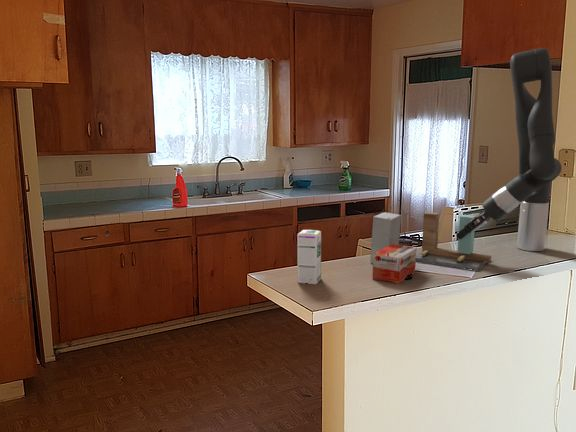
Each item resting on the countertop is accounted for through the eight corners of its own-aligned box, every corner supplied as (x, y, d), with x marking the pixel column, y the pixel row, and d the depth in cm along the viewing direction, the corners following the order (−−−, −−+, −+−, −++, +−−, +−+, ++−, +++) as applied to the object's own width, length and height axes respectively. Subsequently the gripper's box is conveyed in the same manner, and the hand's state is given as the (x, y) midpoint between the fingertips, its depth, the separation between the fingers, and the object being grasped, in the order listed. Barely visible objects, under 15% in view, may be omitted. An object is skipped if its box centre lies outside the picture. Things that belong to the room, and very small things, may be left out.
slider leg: (460, 254, 181) (463, 214, 178) (472, 256, 178) (475, 215, 176) (452, 260, 173) (455, 218, 171) (465, 261, 171) (468, 220, 169)
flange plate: (427, 251, 191) (428, 247, 191) (489, 260, 180) (489, 256, 179) (411, 260, 178) (411, 256, 177) (477, 271, 166) (477, 266, 166)
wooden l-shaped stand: (425, 250, 187) (427, 211, 185) (491, 259, 175) (494, 218, 173) (416, 255, 180) (418, 215, 177) (484, 265, 168) (488, 223, 166)
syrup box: (316, 284, 152) (317, 234, 149) (296, 282, 153) (297, 232, 151) (321, 279, 157) (322, 230, 155) (301, 277, 159) (302, 228, 156)
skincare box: (380, 258, 181) (382, 211, 178) (400, 261, 177) (402, 214, 174) (368, 263, 174) (370, 215, 171) (389, 267, 170) (391, 217, 167)
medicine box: (398, 284, 153) (399, 257, 152) (371, 280, 157) (372, 253, 156) (416, 272, 166) (417, 246, 164) (391, 267, 170) (392, 243, 168)
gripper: (498, 191, 176) (458, 223, 184) (488, 196, 164) (446, 230, 173) (514, 208, 174) (473, 240, 183) (505, 215, 162) (461, 249, 171)
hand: (460, 235), depth 178 cm, fingers closed on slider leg, 4 cm apart
